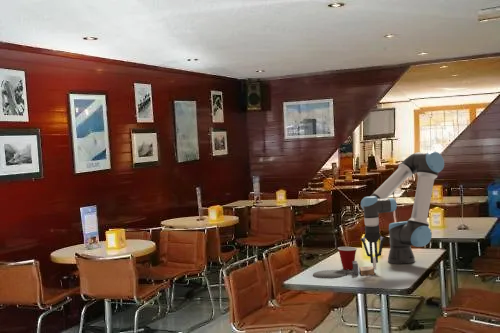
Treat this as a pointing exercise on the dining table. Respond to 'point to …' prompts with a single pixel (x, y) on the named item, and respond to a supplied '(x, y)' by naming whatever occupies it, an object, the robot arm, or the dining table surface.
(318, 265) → the dining table surface
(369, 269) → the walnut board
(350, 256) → the plastic cup
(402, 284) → the dining table surface
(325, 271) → the mat
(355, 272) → the bench dog
